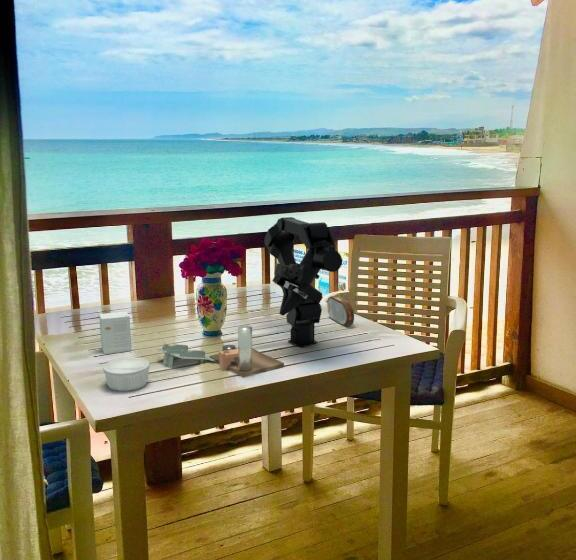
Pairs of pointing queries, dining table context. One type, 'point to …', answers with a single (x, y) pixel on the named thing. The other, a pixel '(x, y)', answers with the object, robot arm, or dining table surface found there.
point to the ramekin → (126, 373)
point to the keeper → (227, 357)
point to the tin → (340, 310)
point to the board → (254, 364)
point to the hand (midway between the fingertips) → (281, 314)
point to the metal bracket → (181, 354)
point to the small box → (115, 332)
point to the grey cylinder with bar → (243, 348)
